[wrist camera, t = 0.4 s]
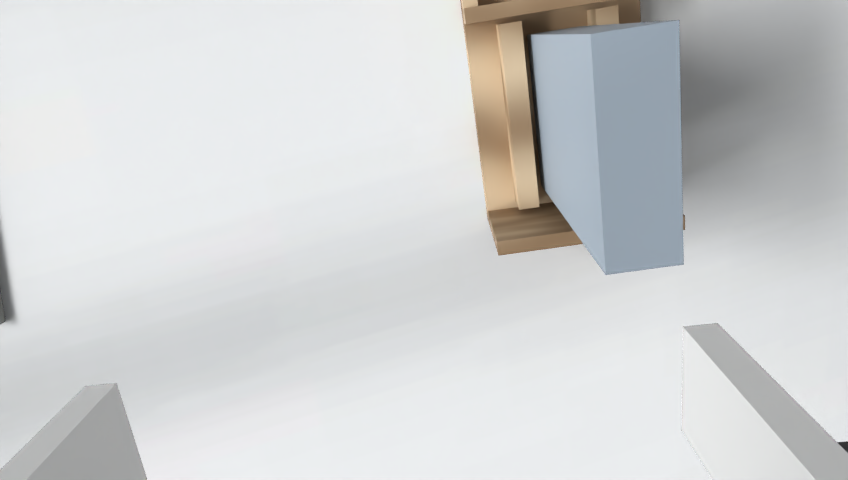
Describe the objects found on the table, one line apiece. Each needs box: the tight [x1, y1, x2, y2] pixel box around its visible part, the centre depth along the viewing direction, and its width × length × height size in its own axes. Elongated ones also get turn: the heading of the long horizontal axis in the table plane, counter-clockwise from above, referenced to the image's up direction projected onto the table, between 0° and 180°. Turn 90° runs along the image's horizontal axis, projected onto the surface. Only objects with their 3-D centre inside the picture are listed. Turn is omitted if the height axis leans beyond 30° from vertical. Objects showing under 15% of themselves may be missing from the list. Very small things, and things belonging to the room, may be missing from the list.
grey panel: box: [527, 20, 684, 275], centre depth 29 cm, size 9×3×15 cm, turn 9°
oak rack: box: [460, 0, 685, 255], centre depth 32 cm, size 23×10×7 cm, turn 9°
